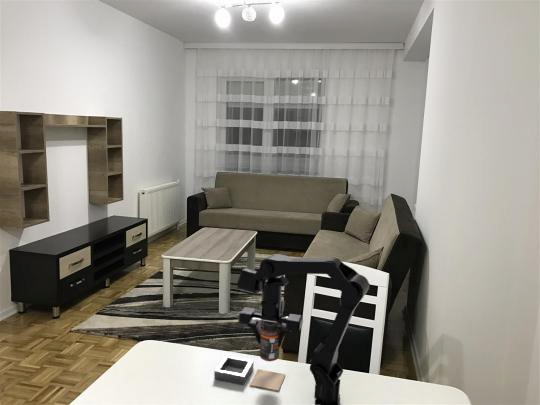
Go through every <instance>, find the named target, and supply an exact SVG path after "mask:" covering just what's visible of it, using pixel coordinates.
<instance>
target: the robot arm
mask: <svg viewBox="0 0 540 405" xmlns="http://www.w3.org/2000/svg"><path fill="white" fill-rule="evenodd" d="M240 271H241V273H240V275H239V277H238V280H237V281H236V282H237V283H236V286H237V289H238V290H239V291H242V292H246V293H250V294H251V293H252V294H255V295H257V294H259V293H260V292H261V302H260V306H261V308H260V310H261V313H258V312H257V309H256V308H253V307H248V306H247V307H246V306H245V307H244V308H243V309H242V310H241V311H240V312H239V314H238V317H237V318H238V320H237V321H238V323H240V324H244V325H245V324H246V326H247V327H250V330H251V331H252V333H253V335H254V336H255V339H256V341H257V343H258V345H260V333H261V329H262V328H261V325H262V321H263V322H265V321H268V322H275V323H277V324H281V327H280V329H279V330H280V336H279V348H281V347H282V345H283V344H282V343H283V341H284V338H285V336H286V334H289V333H291V332H299V331H300V330H301V328H302V326H303V324H304V318H303V316H302V315H301V314H295V313H294V314H293V313H289V315H288V316H281V315H283V312H284V309H285V300H282V287H283V288H284V287H285V286H286V285H288V284H289V282H290V281H289V280H288V279H287V278H286V277H285V276H286V275H291V274H292V275H293V274H298V275H301V274H302V275H303V274H304V275H305V274H306V275H327V276H328V277H329V278H330V279H331V280H332V282H333V284H334V286H335V287H336V288H337V289H338V290H339V291H340V292H341V293H340V298H339V299H340V300H339V308H338V311H337V313H336V314H335V318H334V320H333V322H332V324H331V328H330V330H329V332H328V335H327V337H326V339H325V342H324V344H323V343H322V342H320V343H319V344H318V346H317V348H315V350H314V351H313V353H312V357H311V359H310V361H309V362H308V364H310V366H309V371H310V372H311V375H313V378H314V382H315V386H314V397H313V398H314V399H315V400H314V404H315V405H339V403H340V397H341V394H340V387H341V379H340V378H341V377H342V375H343V374H344V369H343V368H342V367H341V365H340V364H339V363H338V361H337V360H338V357H339V348H340V344H341V343H342V340H343V338H344V335H345V333H346V330H347V328H348V326H349V323H350V322H351V319H352V317H353V315H354V313H355V310H356V308H357V307H358V306H359V303H361V301H362V300H363V298H364V297H365V296H366V294H367V292H368V291H369V290H370V282H369V280H368V278H366V276H364V275H362V274H360V273H359V272H358V271H356V270H355V269H354V268H352V267H350V266H349V265H347V264H345V263H343V261H341V259H339V258H337V257H334V256H333V257H324V258H322V257H315V258H314V257H313V258H312V257H309V258H308V257H306V258H305V257H301V258H299V257H296V258H294V257H290V256H288V255H286V254H281V253H272V254H271V255H269V256H268V257H266V258H264V259H262V261H261V262H260V264H259V268H258V270H252V269H249V268H246V267H245V268H243V269H241V270H240Z"/></svg>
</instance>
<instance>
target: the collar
mask: <svg viewBox="0 0 540 405" xmlns="http://www.w3.org/2000/svg"><path fill="white" fill-rule="evenodd" d="M228 367H230V368H235V369H240V370H243V371H242V373H239V372H236V371H229V370H226V369H227V368H228ZM253 370H254V360H253V359H248V358H243V357H237V356H232V355H230V356H229V355H227V354H226V355H224V357H223V358H222V359H221V361H220V362H219V364H218V365H217V367H216V368H215V370H214V374H213V375H214V376H213V379H214V381H218V382H219V381H220V382H223V383H229V384H234V385H239V386H245V385H246V383H247V381H248V379H249V377H250V376H251V374H252V372H253Z"/></svg>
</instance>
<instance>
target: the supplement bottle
mask: <svg viewBox="0 0 540 405" xmlns="http://www.w3.org/2000/svg"><path fill="white" fill-rule="evenodd" d="M279 336H280V329H279V328H278V323H275V322H268V321H263V327H262V328H261V333H260V344H259V357H260V359H261V360H262V361H266V362H275V361H277V360H278V359H279V358H280V347H279Z"/></svg>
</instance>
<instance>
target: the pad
mask: <svg viewBox="0 0 540 405" xmlns="http://www.w3.org/2000/svg"><path fill="white" fill-rule="evenodd" d="M285 377H286V374H285V373H281V372H280V373H279V372H275V371H271V370H270V371H269V370H264V369H257V370H256V373H255V374H254V375H253V378H252V380H251V382H250V384H249V387H253V388H257V389H263V390H269V391H272V392H273V391H274V392H280V389H281V387H282V385H283V383H284V380H285Z"/></svg>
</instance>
